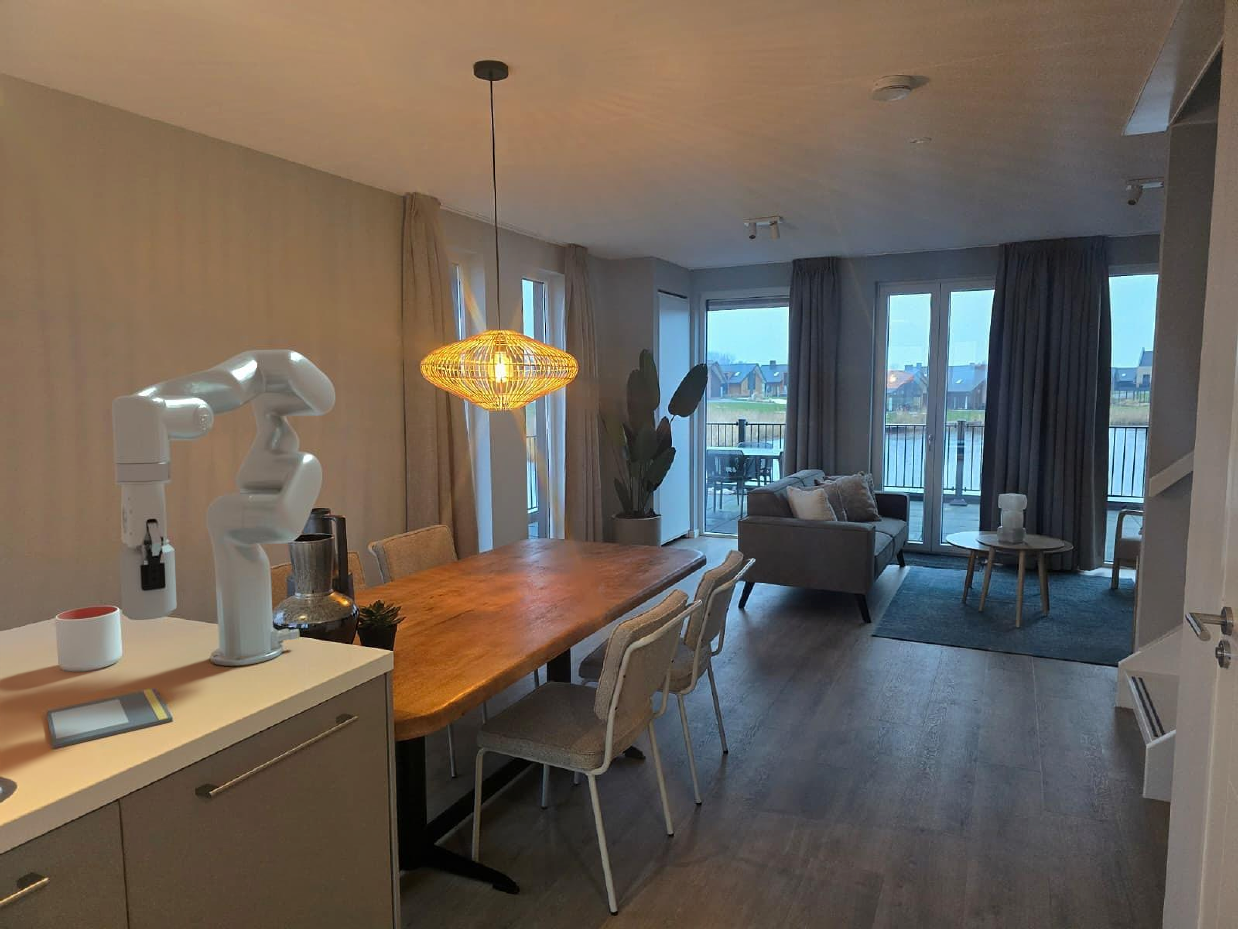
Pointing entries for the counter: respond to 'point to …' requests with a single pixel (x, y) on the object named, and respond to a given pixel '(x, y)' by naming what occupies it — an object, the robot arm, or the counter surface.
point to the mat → (106, 717)
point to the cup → (88, 638)
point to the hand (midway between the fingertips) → (148, 584)
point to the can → (151, 601)
